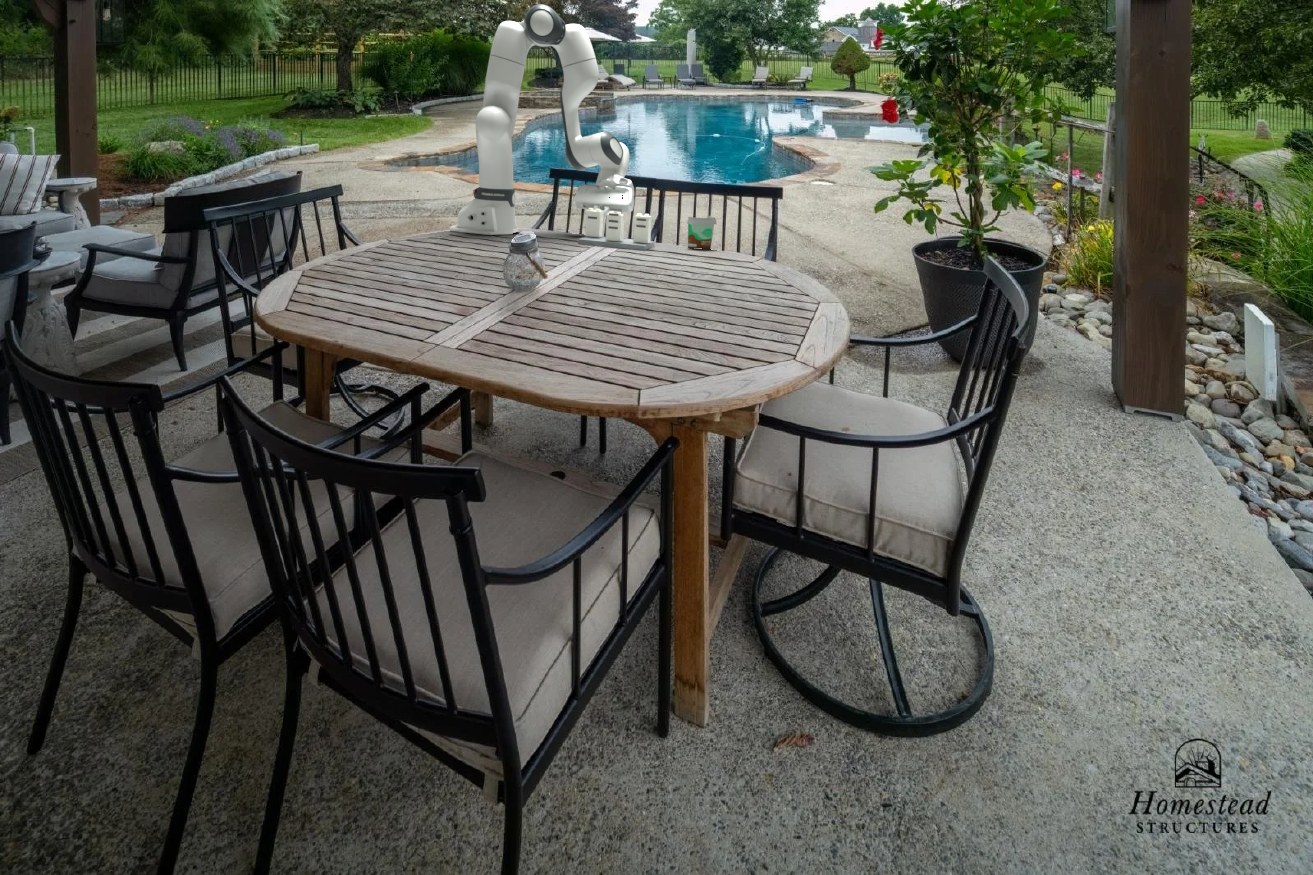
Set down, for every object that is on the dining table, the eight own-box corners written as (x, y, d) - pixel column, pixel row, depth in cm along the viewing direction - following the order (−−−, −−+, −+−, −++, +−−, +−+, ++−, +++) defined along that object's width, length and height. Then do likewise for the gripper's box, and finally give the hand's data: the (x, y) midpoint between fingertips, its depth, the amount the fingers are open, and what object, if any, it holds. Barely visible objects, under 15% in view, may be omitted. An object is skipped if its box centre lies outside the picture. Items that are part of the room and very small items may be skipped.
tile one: (584, 236, 244) (585, 208, 241) (588, 235, 247) (589, 207, 244) (598, 237, 243) (599, 209, 240) (602, 236, 246) (603, 208, 243)
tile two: (632, 241, 238) (634, 213, 235) (635, 240, 241) (637, 212, 238) (647, 243, 237) (648, 214, 234) (650, 242, 240) (651, 213, 237)
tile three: (605, 240, 238) (606, 211, 235) (608, 238, 241) (609, 210, 238) (619, 241, 237) (620, 213, 234) (623, 240, 240) (624, 212, 237)
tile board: (577, 243, 239) (578, 239, 239) (590, 239, 250) (590, 235, 250) (644, 250, 235) (644, 245, 234) (654, 246, 245) (654, 241, 245)
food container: (700, 251, 241) (703, 219, 237) (685, 248, 244) (687, 216, 241) (721, 248, 250) (724, 217, 246) (706, 246, 254) (708, 215, 250)
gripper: (577, 177, 251) (566, 209, 246) (636, 181, 247) (626, 214, 242) (581, 190, 257) (571, 222, 252) (639, 194, 253) (629, 227, 248)
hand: (598, 218), depth 247 cm, fingers closed
